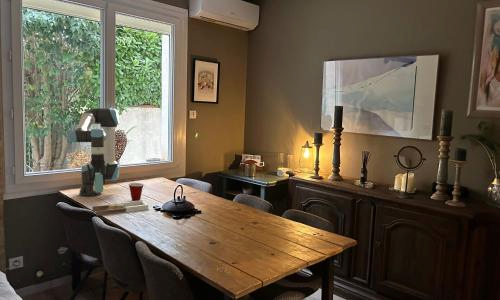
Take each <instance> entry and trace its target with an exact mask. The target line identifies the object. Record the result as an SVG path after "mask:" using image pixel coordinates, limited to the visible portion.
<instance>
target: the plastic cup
mask: <svg viewBox="0 0 500 300" xmlns="http://www.w3.org/2000/svg"><path fill="white" fill-rule="evenodd" d="M144 186H145V184H144V183H140V182H129V183H128V188H129V193H130V197H131V202H132V201H141V198H142V193H143V187H144Z"/></svg>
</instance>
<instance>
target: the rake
mask: <svg viewBox="0 0 500 300" xmlns="http://www.w3.org/2000/svg"><path fill="white" fill-rule="evenodd" d="M94 180H95V192H96V193H99V192H101V193H103V192H104V185H103V175H102V174H101V173H95V177H94Z"/></svg>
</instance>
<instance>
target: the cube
mask: <svg viewBox="0 0 500 300" xmlns="http://www.w3.org/2000/svg"><path fill="white" fill-rule="evenodd" d="M115 204H116V206H117V208H116V209H119V208H125V207H124V205H123V204H120V203H115Z"/></svg>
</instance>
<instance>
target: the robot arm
mask: <svg viewBox="0 0 500 300" xmlns="http://www.w3.org/2000/svg"><path fill="white" fill-rule="evenodd" d="M119 124H120V117H119V112H118V110H117V109H116V108H109V107H108V108H107V107H106V108H104V107H103V108H101V107H100V108H97V107H93V108H90V109H88V110H85V112H83V113H82V115H80V121H79V122H78V125H77V126H76V128H75V130H74V129H72V130H69V132H68V140H69V142H70V143H90V153H91V155H90V163H86V164H83V165H82V166H81V171H80V173H81V186H80V189H79V196H80V197H87V198H88V197H97V196H100V195H102V192H99V193H96V192H95V180H94V177H95V173H101V174H102V175H103V186H105V184H106V181H110V182H111V181H117V180H118V178H119V177H120V176H119V175H120V168H121V167H120V164H118V162H117V161H116V129H117V127H118V125H119ZM93 125H100V128H91V126H93Z"/></svg>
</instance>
